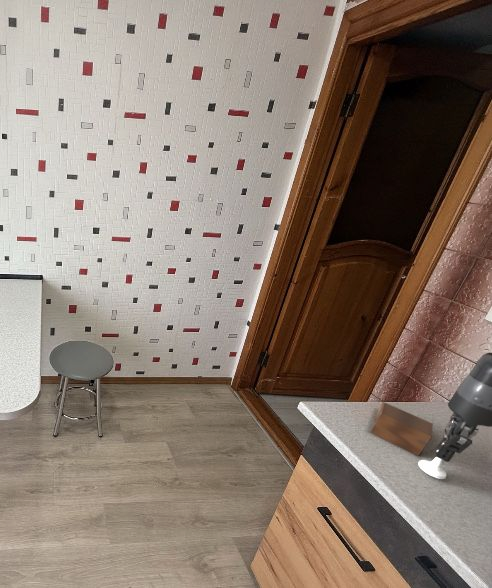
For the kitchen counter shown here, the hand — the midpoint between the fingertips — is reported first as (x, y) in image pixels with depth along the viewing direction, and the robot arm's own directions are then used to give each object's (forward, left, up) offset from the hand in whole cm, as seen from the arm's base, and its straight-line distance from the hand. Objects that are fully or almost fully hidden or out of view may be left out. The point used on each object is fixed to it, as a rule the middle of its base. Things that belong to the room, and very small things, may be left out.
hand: (442, 455), depth 79 cm
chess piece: (0, 0, -5) cm, 5 cm away
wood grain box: (+7, -12, -6) cm, 15 cm away
